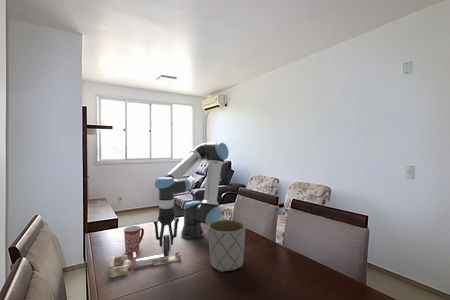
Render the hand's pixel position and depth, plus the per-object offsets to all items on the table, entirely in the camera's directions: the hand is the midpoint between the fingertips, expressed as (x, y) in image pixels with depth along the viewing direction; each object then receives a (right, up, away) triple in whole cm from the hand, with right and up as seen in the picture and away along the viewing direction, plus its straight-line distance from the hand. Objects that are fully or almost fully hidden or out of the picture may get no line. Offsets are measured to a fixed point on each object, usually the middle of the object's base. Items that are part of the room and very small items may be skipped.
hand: (166, 251), depth 121 cm
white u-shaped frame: (-7, -5, -3) cm, 9 cm away
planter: (+32, -5, -3) cm, 32 cm away
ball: (-17, -3, -7) cm, 19 cm away
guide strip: (0, -5, 0) cm, 5 cm away
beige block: (-21, -5, -9) cm, 23 cm away
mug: (-21, -5, +13) cm, 25 cm away
